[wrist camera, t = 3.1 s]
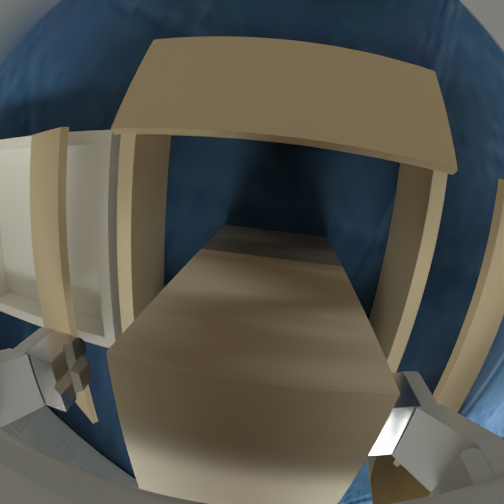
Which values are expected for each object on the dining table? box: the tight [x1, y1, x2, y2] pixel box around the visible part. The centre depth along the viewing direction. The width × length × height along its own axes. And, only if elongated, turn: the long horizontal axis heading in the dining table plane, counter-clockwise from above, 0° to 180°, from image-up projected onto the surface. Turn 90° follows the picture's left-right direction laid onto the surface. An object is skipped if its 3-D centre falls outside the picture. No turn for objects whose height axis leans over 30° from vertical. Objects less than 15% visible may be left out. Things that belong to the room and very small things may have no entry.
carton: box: [30, 36, 504, 467], centre depth 12 cm, size 20×19×6 cm
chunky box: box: [106, 224, 400, 504], centre depth 10 cm, size 4×4×10 cm
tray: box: [0, 130, 122, 348], centre depth 14 cm, size 10×10×2 cm
